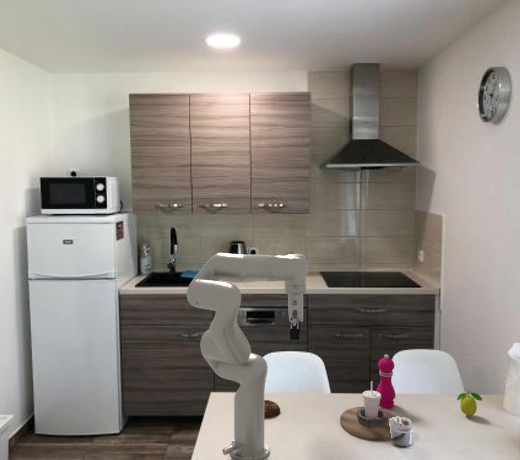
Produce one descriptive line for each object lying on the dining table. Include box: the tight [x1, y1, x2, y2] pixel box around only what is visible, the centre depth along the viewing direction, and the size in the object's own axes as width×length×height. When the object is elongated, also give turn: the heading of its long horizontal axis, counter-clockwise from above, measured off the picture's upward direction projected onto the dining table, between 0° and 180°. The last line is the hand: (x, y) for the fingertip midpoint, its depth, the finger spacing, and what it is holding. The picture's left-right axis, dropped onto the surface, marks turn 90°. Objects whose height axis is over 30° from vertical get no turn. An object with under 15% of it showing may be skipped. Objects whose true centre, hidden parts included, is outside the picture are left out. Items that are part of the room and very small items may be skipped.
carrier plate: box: [339, 406, 399, 441], centre depth 171 cm, size 22×22×4 cm
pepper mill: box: [375, 353, 396, 410], centre depth 185 cm, size 7×7×20 cm
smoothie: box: [362, 380, 381, 419], centre depth 170 cm, size 6×6×14 cm
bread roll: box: [264, 399, 281, 418], centre depth 181 cm, size 11×11×5 cm
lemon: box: [456, 391, 483, 417], centre depth 177 cm, size 7×6×10 cm
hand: (295, 335), depth 175 cm, fingers open, 9 cm apart
